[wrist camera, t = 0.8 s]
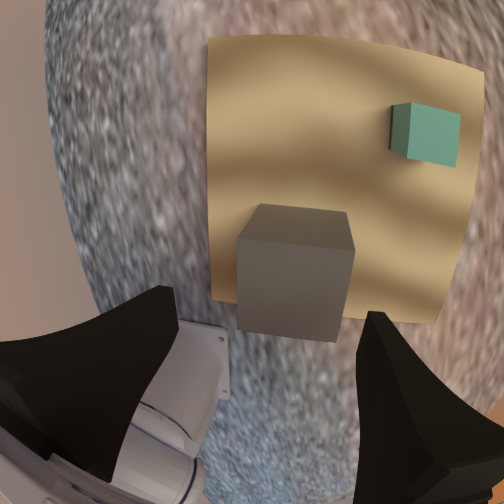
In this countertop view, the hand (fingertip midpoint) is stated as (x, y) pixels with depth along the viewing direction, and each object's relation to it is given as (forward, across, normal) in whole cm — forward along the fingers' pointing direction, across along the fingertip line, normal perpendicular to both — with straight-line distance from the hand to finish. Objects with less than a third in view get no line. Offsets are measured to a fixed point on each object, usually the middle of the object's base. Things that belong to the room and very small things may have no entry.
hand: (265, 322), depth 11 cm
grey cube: (+9, -1, +1) cm, 9 cm away
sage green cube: (+9, -7, -7) cm, 13 cm away
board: (+10, -3, -3) cm, 11 cm away
